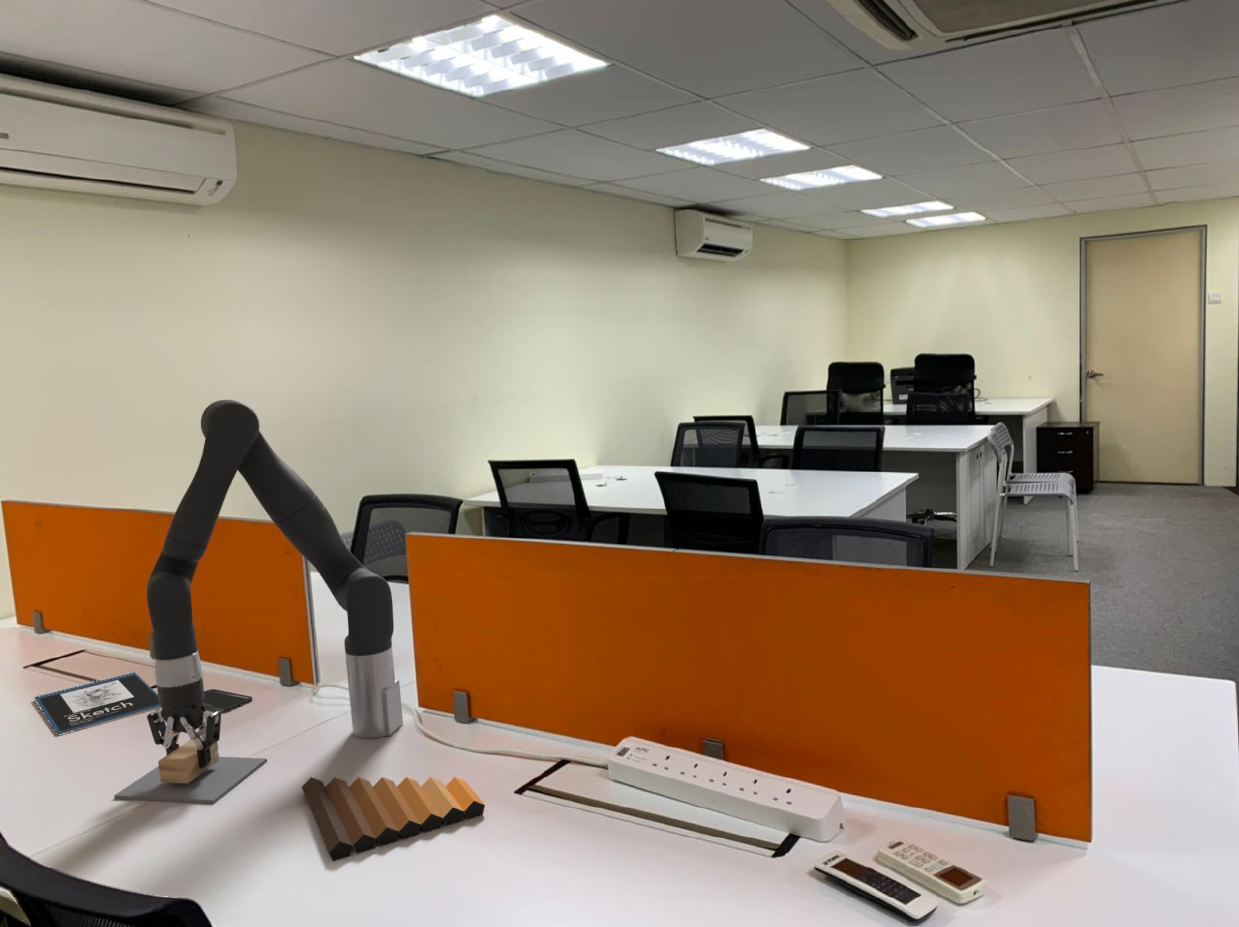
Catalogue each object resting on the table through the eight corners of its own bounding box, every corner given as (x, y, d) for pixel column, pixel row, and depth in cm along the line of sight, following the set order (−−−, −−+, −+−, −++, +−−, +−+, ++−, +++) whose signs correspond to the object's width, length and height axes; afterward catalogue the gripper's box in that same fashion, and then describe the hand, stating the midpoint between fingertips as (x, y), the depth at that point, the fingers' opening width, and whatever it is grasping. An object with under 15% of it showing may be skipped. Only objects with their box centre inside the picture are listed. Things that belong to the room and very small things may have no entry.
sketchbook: (58, 739, 188) (57, 729, 188) (34, 702, 210) (33, 694, 210) (167, 707, 202) (166, 699, 202) (134, 676, 225) (133, 669, 224)
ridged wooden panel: (302, 797, 156) (330, 865, 134) (300, 779, 155) (327, 844, 133) (440, 760, 167) (486, 816, 146) (438, 743, 167) (484, 797, 145)
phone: (211, 688, 209) (254, 697, 202) (211, 693, 210) (254, 701, 202) (181, 700, 203) (224, 709, 195) (181, 705, 203) (225, 714, 196)
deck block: (187, 783, 158) (185, 762, 158) (160, 782, 160) (158, 760, 159) (219, 760, 167) (217, 740, 167) (193, 759, 168) (191, 739, 168)
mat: (267, 761, 170) (266, 758, 170) (214, 803, 154) (213, 800, 154) (175, 757, 174) (174, 754, 174) (114, 798, 158) (114, 795, 158)
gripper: (130, 684, 159) (141, 774, 161) (201, 686, 156) (211, 776, 158) (159, 669, 166) (169, 755, 168) (227, 670, 163) (237, 757, 165)
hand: (190, 765), depth 163 cm, fingers closed on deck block, 5 cm apart
